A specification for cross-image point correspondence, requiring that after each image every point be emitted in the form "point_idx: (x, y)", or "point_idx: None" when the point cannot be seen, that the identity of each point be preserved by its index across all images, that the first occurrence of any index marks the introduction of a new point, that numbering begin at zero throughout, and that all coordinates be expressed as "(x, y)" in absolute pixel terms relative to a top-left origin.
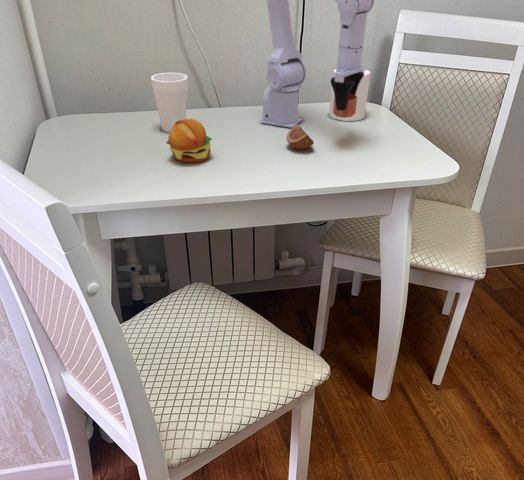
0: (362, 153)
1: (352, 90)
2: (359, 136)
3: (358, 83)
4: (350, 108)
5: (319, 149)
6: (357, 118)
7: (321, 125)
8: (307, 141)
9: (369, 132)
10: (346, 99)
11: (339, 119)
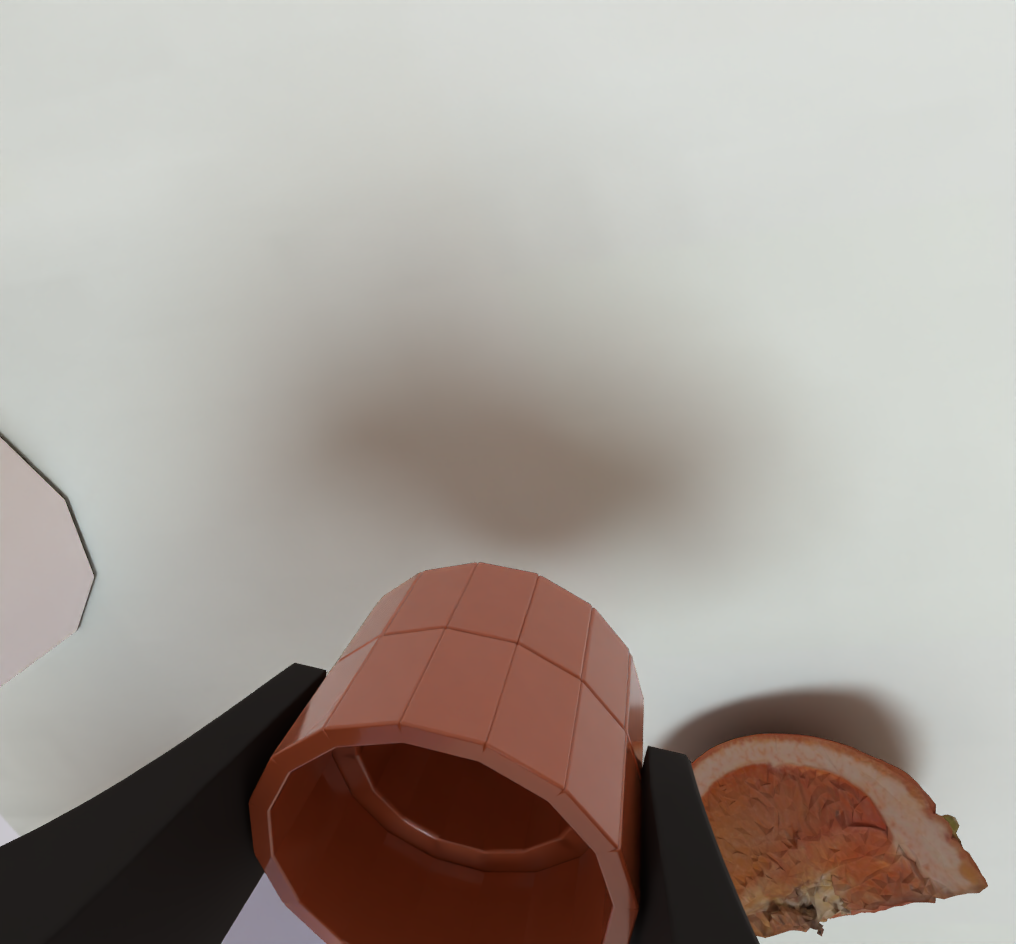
0: (783, 285)
1: (200, 842)
2: (337, 383)
3: (50, 909)
4: (598, 692)
5: (767, 653)
6: (2, 457)
7: (251, 673)
8: (955, 824)
9: (201, 311)
10: (752, 932)
11: (89, 577)
